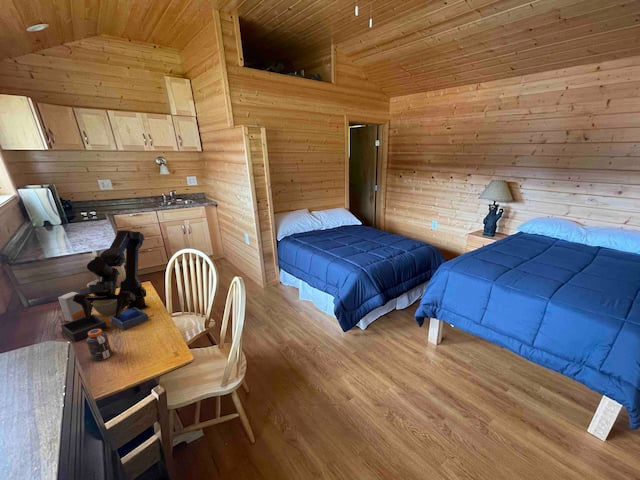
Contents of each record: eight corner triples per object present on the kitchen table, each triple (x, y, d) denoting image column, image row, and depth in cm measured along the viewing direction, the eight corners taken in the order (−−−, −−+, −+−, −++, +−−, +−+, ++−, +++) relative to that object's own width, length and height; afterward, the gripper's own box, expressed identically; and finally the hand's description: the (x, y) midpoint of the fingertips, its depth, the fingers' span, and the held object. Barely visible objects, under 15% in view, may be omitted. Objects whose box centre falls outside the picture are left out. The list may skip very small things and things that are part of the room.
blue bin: (136, 313, 144) (135, 307, 143) (148, 320, 140) (147, 313, 138) (111, 322, 135) (110, 316, 134) (123, 330, 131) (122, 323, 130)
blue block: (130, 317, 140) (128, 308, 138) (138, 319, 139) (136, 310, 137) (121, 322, 136) (119, 313, 134) (129, 324, 135) (127, 315, 133)
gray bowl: (127, 311, 145) (123, 298, 142) (104, 320, 136) (99, 307, 134) (113, 306, 148) (110, 293, 146) (90, 315, 140) (86, 301, 137)
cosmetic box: (73, 322, 133) (65, 298, 129) (65, 320, 134) (57, 297, 130) (87, 315, 139) (79, 292, 134) (79, 314, 140) (72, 291, 135)
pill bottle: (114, 355, 116) (107, 331, 112) (94, 363, 112) (86, 338, 107) (109, 349, 119) (102, 325, 115) (90, 356, 115) (81, 331, 111)
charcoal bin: (94, 320, 136) (92, 314, 135) (107, 328, 131) (105, 322, 130) (62, 332, 127) (60, 325, 125) (75, 341, 122) (72, 334, 121)
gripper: (67, 275, 112) (59, 315, 107) (126, 273, 118) (121, 311, 112) (84, 285, 122) (77, 322, 116) (137, 282, 128) (133, 318, 122)
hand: (102, 318), depth 116 cm, fingers open, 9 cm apart
